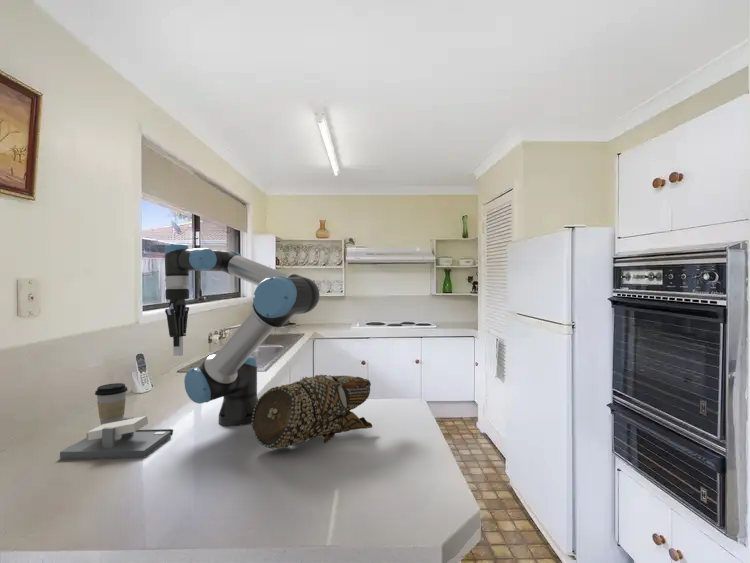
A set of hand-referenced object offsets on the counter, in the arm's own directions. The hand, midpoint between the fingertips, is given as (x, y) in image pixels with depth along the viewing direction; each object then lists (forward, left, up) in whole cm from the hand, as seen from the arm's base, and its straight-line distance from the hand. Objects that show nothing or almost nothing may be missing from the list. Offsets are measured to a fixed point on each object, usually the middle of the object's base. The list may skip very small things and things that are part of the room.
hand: (178, 355), depth 143 cm
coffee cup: (+21, +4, -25) cm, 33 cm away
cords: (+6, +10, -24) cm, 27 cm away
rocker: (+9, +19, -20) cm, 29 cm away
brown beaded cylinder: (-51, +15, -25) cm, 59 cm away
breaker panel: (+9, +20, -24) cm, 33 cm away
